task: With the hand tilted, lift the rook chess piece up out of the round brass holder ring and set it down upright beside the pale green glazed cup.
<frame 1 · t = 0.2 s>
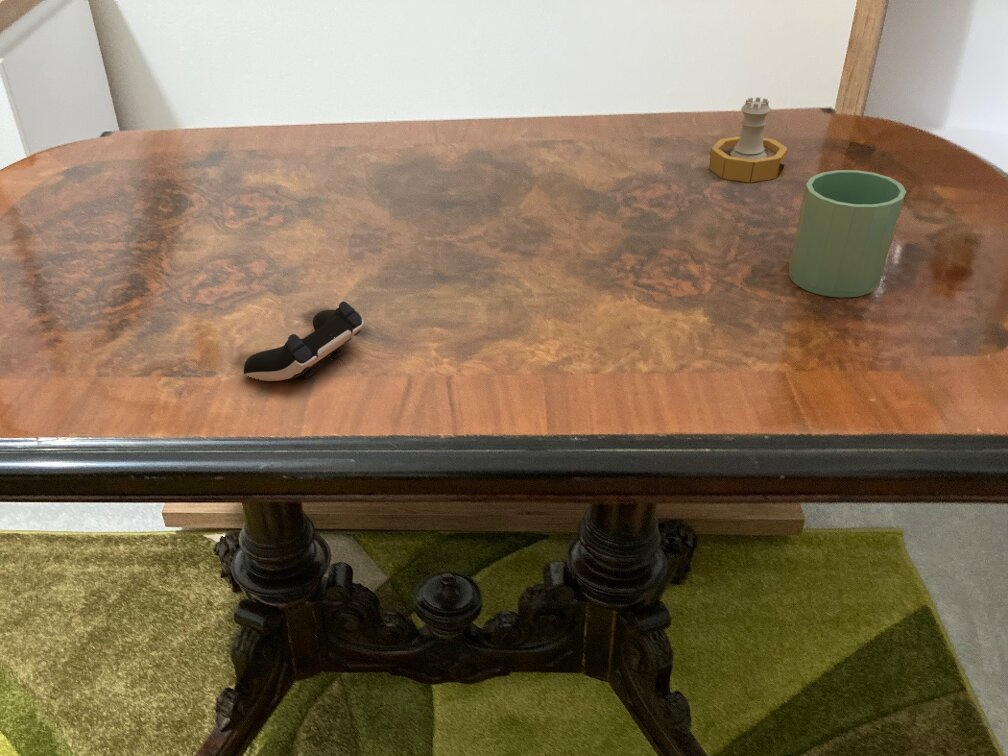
rook chess piece: (745, 170, 110), resting in holder ring
green cup: (833, 276, 89), on the table
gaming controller: (311, 364, 83), on the table
holder ring: (745, 168, 110), on the table
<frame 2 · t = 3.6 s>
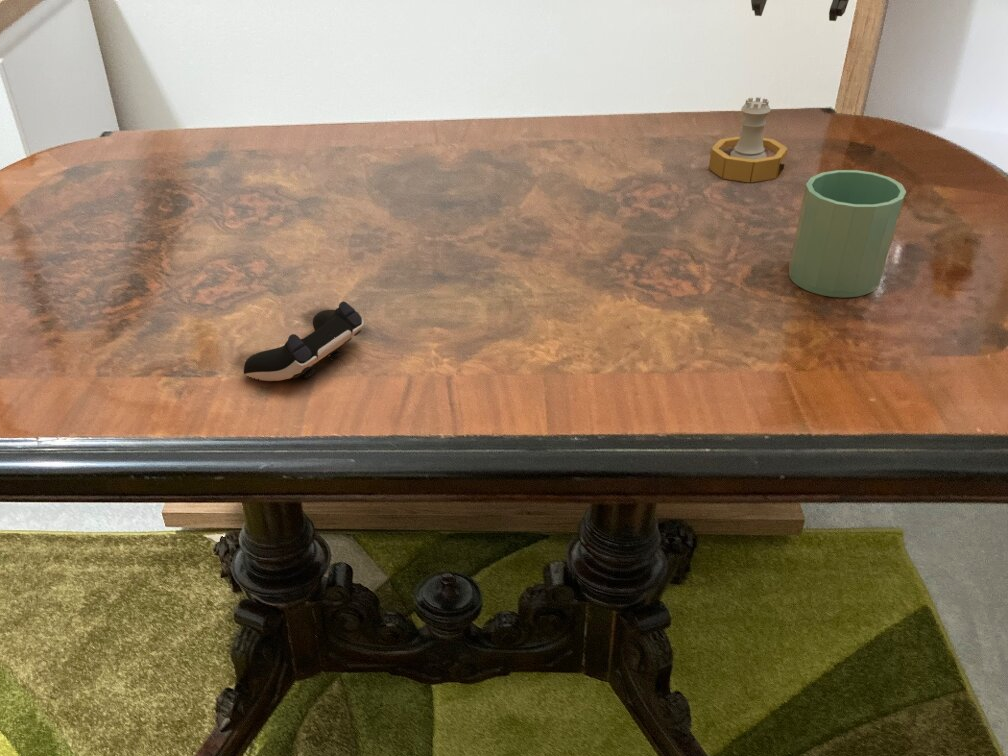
hand: (793, 14, 108), 15 cm above the table, tool tilted 45°, fingers open, 8 cm apart
nothing on the table moved.
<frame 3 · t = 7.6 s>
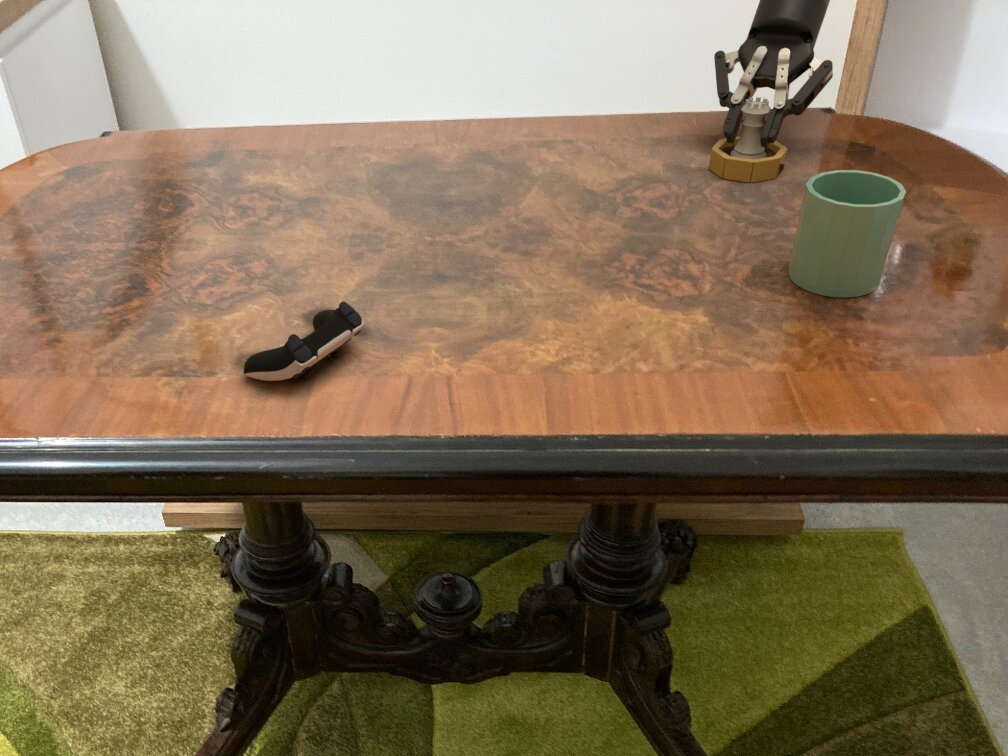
hand: (746, 141, 106), 4 cm above the table, tool tilted 45°, fingers closed on rook chess piece, 3 cm apart
rook chess piece: (745, 170, 110), resting in holder ring, touching gripper
everything else where it was.
when the fingers open (4 cm above the table, at t = 15.4 s): rook chess piece stays where it is, on the table.
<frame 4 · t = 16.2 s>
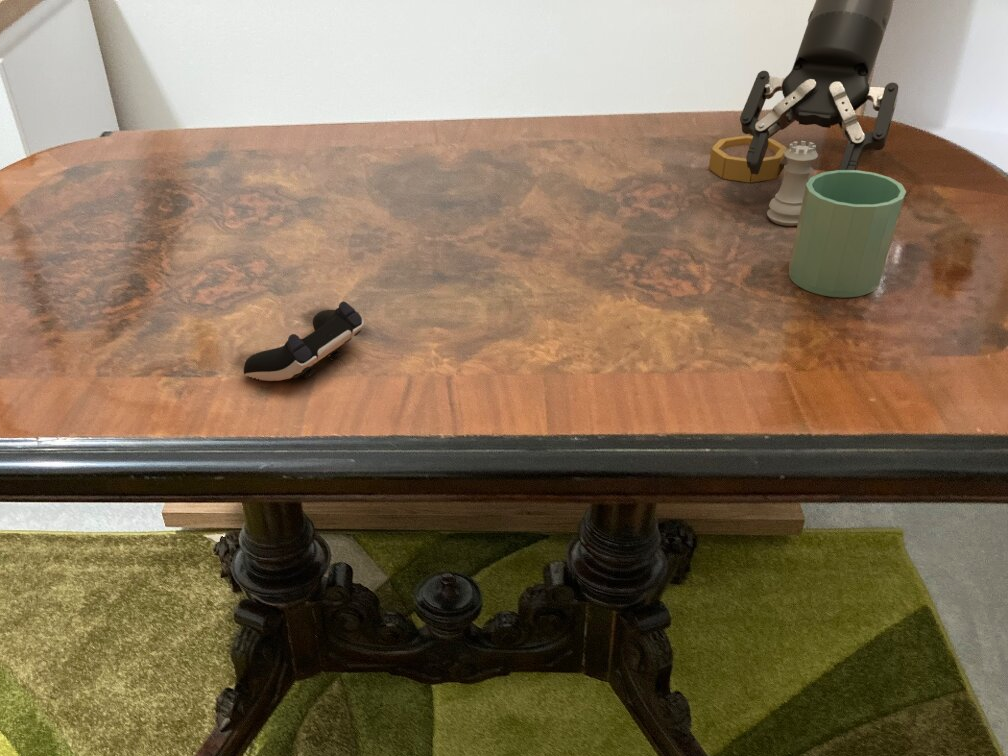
hand: (795, 177, 95), 5 cm above the table, tool tilted 45°, fingers open, 8 cm apart
rook chess piece: (787, 220, 99), on the table
everything else where it was.
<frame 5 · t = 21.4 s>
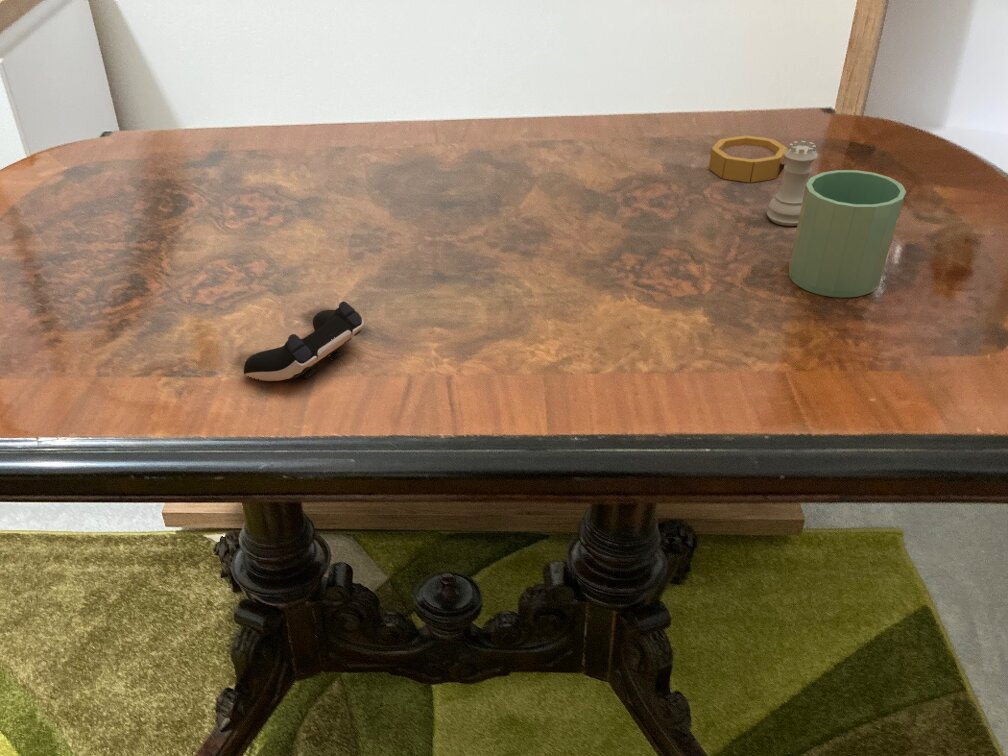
nothing on the table moved.
at the end: rook chess piece 13.3 cm from the green cup (horizontally); rook chess piece moved 14.2 cm from its start; rook chess piece tilted 0° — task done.
